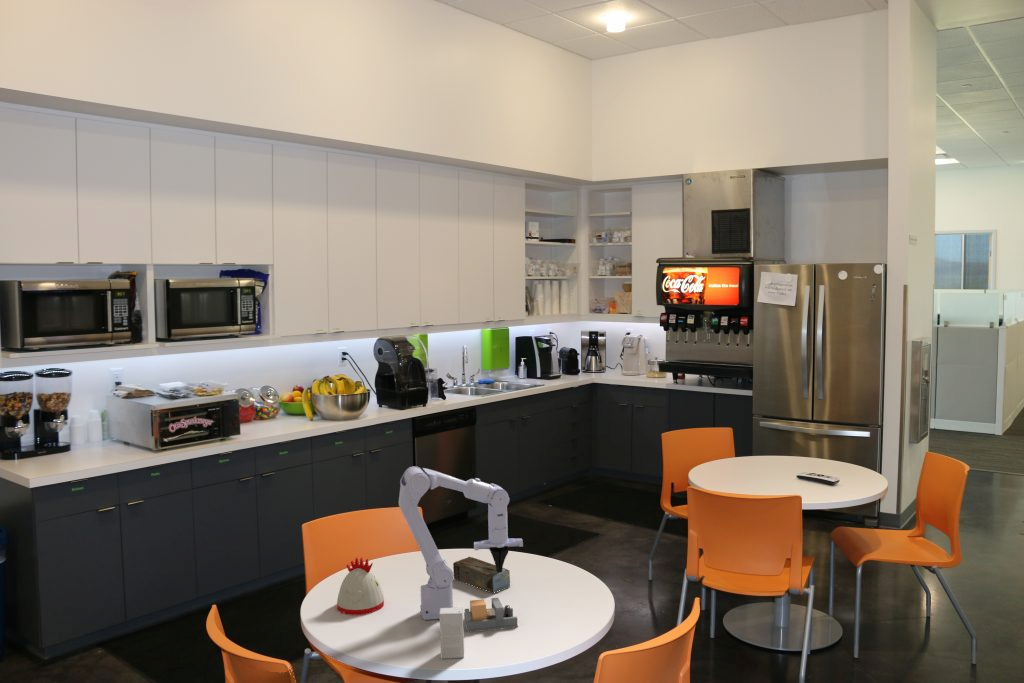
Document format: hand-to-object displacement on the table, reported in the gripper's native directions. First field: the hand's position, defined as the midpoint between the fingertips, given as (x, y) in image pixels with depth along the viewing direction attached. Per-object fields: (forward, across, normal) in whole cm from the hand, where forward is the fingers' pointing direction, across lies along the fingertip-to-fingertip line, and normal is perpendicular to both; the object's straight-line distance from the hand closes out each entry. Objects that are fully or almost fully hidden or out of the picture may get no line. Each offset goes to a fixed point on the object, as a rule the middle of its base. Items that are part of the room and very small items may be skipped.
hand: (499, 571), depth 252 cm
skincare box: (+11, -18, -30) cm, 37 cm away
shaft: (+9, -3, -13) cm, 16 cm away
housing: (+10, -5, -13) cm, 17 cm away
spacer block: (+10, -8, -13) cm, 18 cm away
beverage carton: (+11, -2, +19) cm, 22 cm away
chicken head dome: (+11, -41, +10) cm, 44 cm away
